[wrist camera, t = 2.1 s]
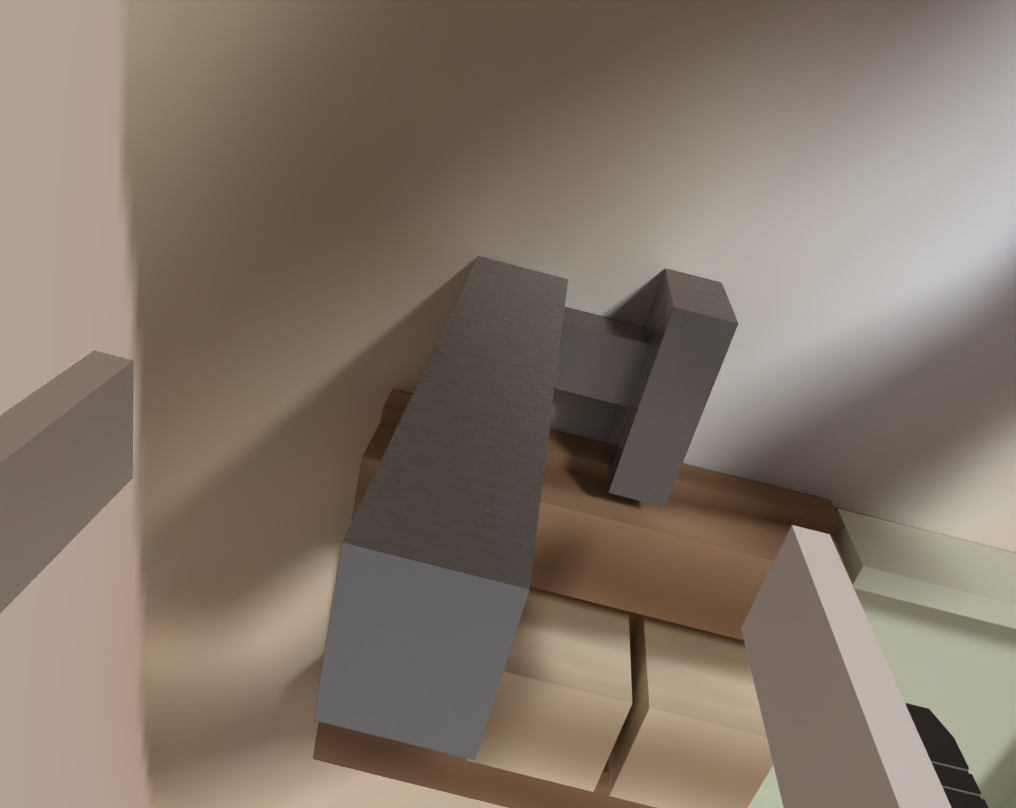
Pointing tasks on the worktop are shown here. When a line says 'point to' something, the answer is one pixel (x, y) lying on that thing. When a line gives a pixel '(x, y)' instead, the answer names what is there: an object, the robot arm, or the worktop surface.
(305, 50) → the worktop surface
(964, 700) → the tray
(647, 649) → the light wooden cube
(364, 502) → the t-shaped gray bracket
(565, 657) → the beige cube
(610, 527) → the groove board
